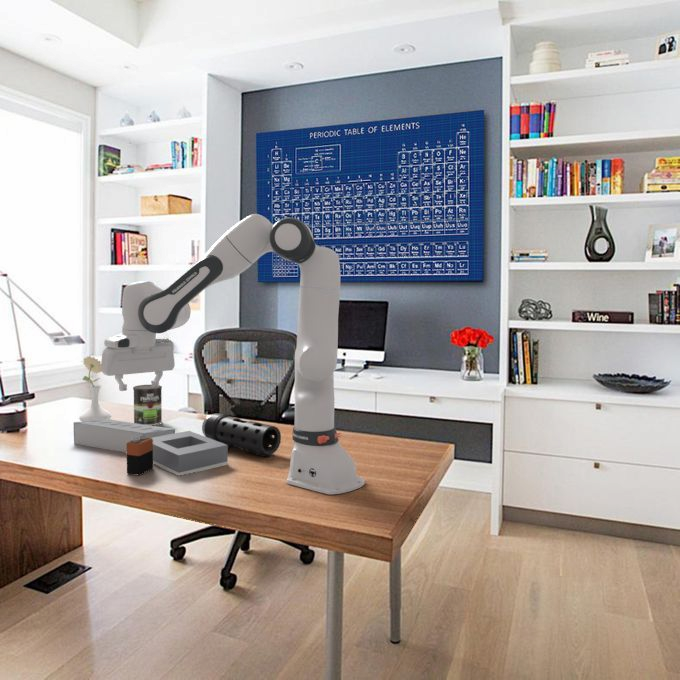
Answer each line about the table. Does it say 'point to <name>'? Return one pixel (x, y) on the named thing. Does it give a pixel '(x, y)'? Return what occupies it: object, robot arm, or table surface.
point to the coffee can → (147, 405)
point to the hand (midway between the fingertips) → (139, 388)
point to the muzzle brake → (242, 434)
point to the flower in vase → (93, 394)
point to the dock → (188, 452)
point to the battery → (139, 455)
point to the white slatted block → (114, 433)
